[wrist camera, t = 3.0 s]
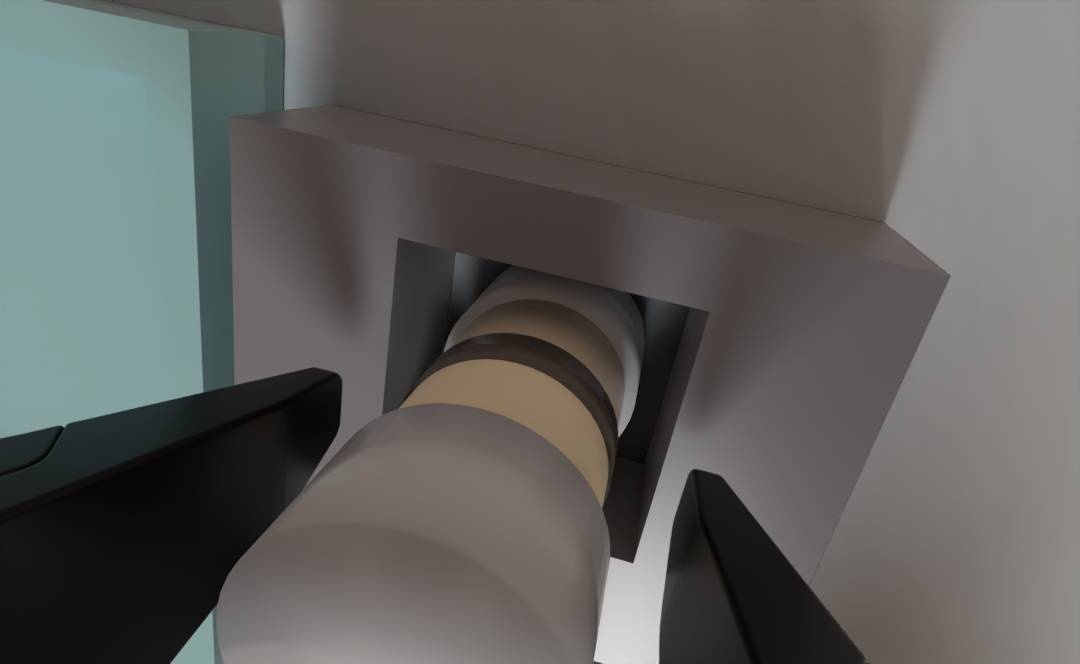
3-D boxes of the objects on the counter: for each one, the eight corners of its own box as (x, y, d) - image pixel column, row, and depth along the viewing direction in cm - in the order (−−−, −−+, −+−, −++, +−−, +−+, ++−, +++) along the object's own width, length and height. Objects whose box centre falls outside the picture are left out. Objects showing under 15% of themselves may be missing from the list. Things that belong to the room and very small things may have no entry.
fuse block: (332, 105, 12) (229, 115, 9) (885, 223, 11) (950, 275, 8) (309, 639, 18) (241, 742, 15) (672, 756, 17) (669, 891, 14)
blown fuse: (664, 277, 12) (624, 596, 5) (623, 432, 13) (544, 858, 6) (488, 236, 12) (209, 474, 5) (465, 390, 14) (221, 745, 7)
